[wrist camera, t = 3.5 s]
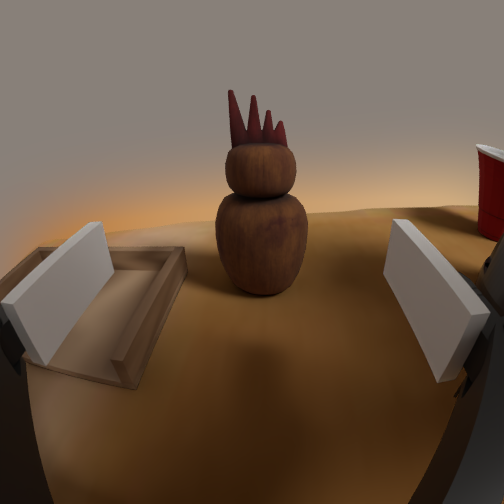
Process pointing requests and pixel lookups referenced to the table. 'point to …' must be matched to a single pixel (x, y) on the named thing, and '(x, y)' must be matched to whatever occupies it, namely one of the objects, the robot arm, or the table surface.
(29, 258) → the tray
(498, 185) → the plastic cup
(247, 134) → the wooden figurine
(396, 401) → the table surface
